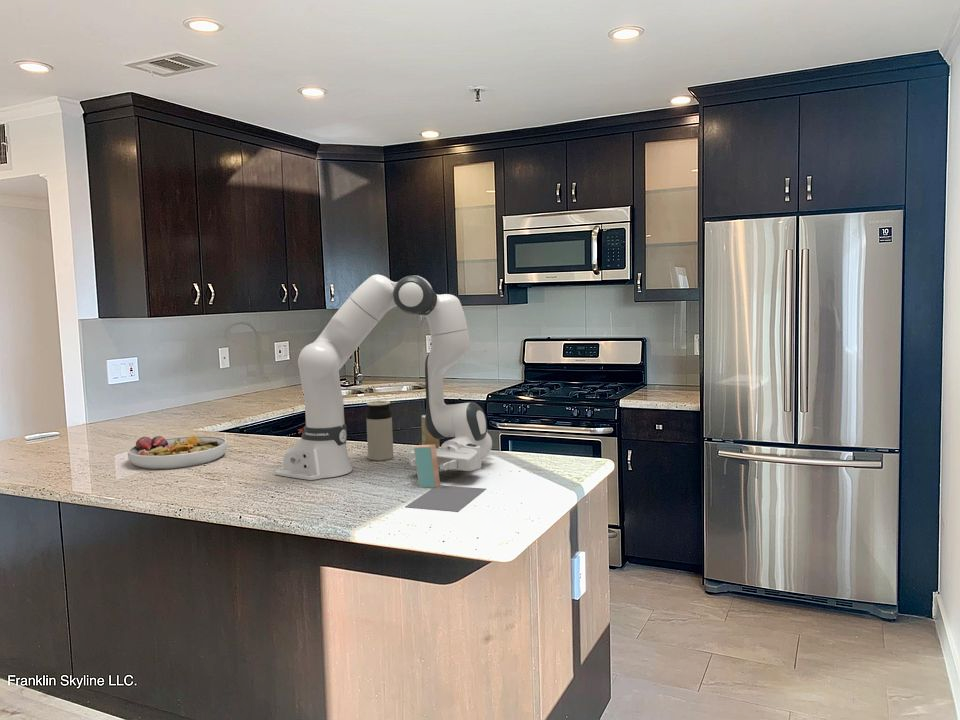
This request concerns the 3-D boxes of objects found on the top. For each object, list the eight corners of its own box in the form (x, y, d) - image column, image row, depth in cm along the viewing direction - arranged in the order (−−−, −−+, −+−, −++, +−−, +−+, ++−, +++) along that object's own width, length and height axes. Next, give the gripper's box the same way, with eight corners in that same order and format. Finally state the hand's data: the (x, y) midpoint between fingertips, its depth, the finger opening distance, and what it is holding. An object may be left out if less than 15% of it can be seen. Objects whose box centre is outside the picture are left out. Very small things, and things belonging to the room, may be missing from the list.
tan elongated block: (418, 487, 190) (413, 447, 190) (423, 484, 193) (418, 445, 192) (435, 487, 189) (430, 446, 188) (440, 484, 191) (435, 444, 191)
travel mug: (391, 460, 222) (389, 403, 220) (366, 461, 222) (363, 404, 221) (395, 454, 230) (392, 400, 228) (370, 455, 230) (368, 400, 228)
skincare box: (421, 451, 233) (420, 415, 232) (434, 450, 235) (433, 414, 234) (427, 456, 227) (426, 418, 226) (440, 454, 229) (439, 417, 228)
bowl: (243, 449, 246) (241, 427, 245) (201, 471, 216) (199, 446, 216) (160, 450, 249) (159, 428, 248) (108, 472, 219) (106, 447, 219)
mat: (404, 508, 172) (404, 506, 172) (437, 486, 191) (437, 485, 191) (458, 513, 168) (458, 511, 168) (486, 490, 186) (486, 488, 186)
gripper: (424, 440, 207) (395, 450, 195) (485, 446, 197) (459, 457, 185) (425, 461, 208) (396, 472, 196) (486, 469, 197) (459, 481, 185)
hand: (427, 465), depth 190 cm, fingers open, 8 cm apart
